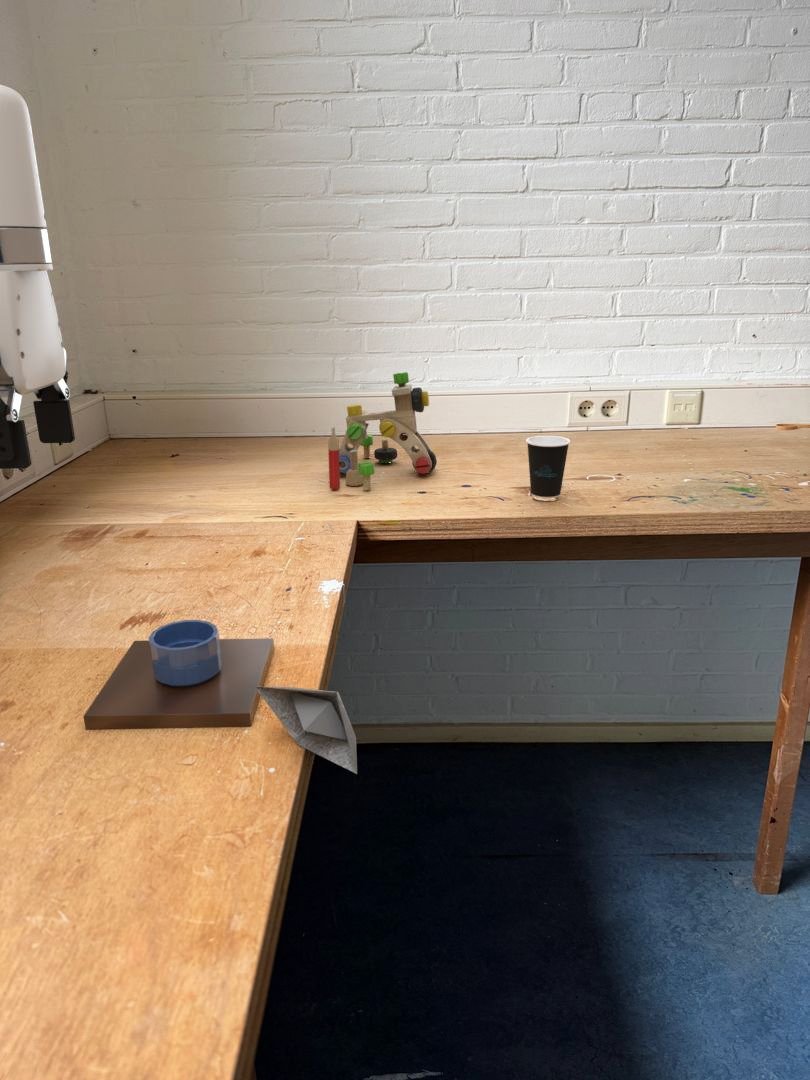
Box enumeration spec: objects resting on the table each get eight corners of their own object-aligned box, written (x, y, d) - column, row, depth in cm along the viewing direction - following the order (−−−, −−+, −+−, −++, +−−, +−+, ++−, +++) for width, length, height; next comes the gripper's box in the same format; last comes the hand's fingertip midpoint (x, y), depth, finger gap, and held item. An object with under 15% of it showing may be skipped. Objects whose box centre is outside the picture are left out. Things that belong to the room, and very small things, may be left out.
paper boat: (396, 723, 75) (371, 755, 66) (358, 773, 76) (328, 812, 67) (298, 644, 77) (260, 665, 68) (262, 695, 78) (220, 723, 69)
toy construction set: (388, 499, 149) (386, 388, 142) (291, 484, 159) (285, 380, 152) (453, 467, 171) (454, 369, 164) (364, 456, 181) (361, 363, 174)
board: (85, 729, 77) (83, 716, 77) (135, 652, 92) (134, 640, 92) (251, 726, 77) (249, 713, 77) (274, 649, 92) (273, 638, 92)
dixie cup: (536, 506, 143) (539, 446, 140) (516, 494, 150) (518, 437, 147) (575, 501, 146) (578, 442, 142) (553, 490, 153) (556, 434, 149)
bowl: (146, 690, 81) (140, 650, 79) (164, 658, 87) (159, 620, 86) (214, 689, 81) (209, 648, 79) (227, 657, 87) (223, 619, 86)
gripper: (4, 254, 74) (35, 434, 80) (-105, 253, 58) (-57, 480, 64) (85, 252, 74) (110, 433, 80) (-2, 251, 58) (37, 478, 64)
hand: (36, 454), depth 72 cm, fingers open, 9 cm apart
